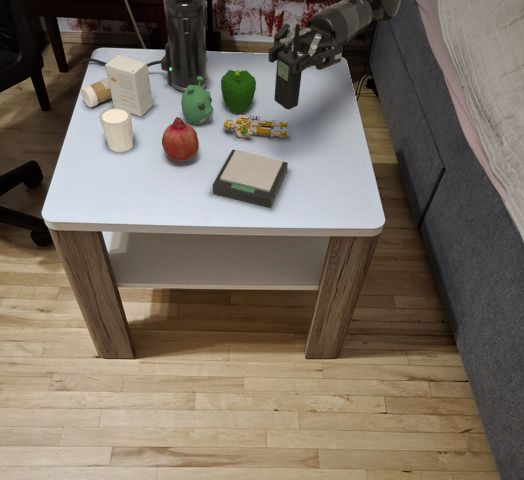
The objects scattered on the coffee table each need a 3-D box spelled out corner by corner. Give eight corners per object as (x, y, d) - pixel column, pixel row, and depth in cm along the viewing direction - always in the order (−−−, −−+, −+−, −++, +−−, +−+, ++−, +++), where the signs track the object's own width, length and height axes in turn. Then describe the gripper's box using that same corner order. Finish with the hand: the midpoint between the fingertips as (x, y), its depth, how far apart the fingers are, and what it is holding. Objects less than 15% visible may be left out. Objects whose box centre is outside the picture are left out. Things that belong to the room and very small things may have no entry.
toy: (287, 138, 117) (223, 132, 115) (284, 145, 122) (222, 139, 120) (289, 115, 116) (224, 108, 115) (286, 123, 122) (224, 116, 120)
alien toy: (204, 134, 119) (202, 93, 111) (177, 124, 121) (173, 83, 112) (219, 120, 123) (218, 79, 114) (192, 110, 124) (190, 69, 116)
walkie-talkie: (272, 100, 101) (278, 19, 89) (285, 94, 103) (292, 13, 90) (288, 111, 100) (296, 30, 87) (301, 105, 101) (310, 24, 88)
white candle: (130, 155, 113) (124, 127, 107) (100, 150, 114) (93, 122, 108) (140, 138, 117) (135, 109, 111) (111, 133, 117) (105, 104, 112)
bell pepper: (231, 95, 129) (231, 54, 121) (259, 104, 127) (261, 64, 119) (214, 111, 125) (213, 70, 116) (244, 121, 123) (245, 80, 115)
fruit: (158, 166, 112) (153, 125, 103) (170, 145, 116) (166, 104, 108) (193, 173, 111) (191, 132, 103) (204, 152, 115) (202, 111, 107)
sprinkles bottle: (136, 92, 128) (91, 111, 123) (125, 78, 128) (79, 97, 123) (138, 79, 124) (91, 98, 119) (126, 64, 124) (79, 83, 119)
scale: (212, 193, 108) (212, 182, 105) (232, 158, 115) (232, 146, 112) (270, 208, 106) (271, 197, 104) (286, 171, 113) (288, 160, 111)
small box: (153, 106, 124) (148, 62, 116) (141, 117, 121) (134, 73, 113) (126, 97, 126) (118, 53, 117) (113, 108, 123) (104, 64, 114)
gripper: (305, -4, 99) (252, 27, 91) (367, 20, 95) (317, 55, 87) (301, 36, 105) (251, 69, 98) (359, 61, 101) (311, 97, 93)
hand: (282, 62), depth 92 cm, fingers closed on walkie-talkie, 5 cm apart
